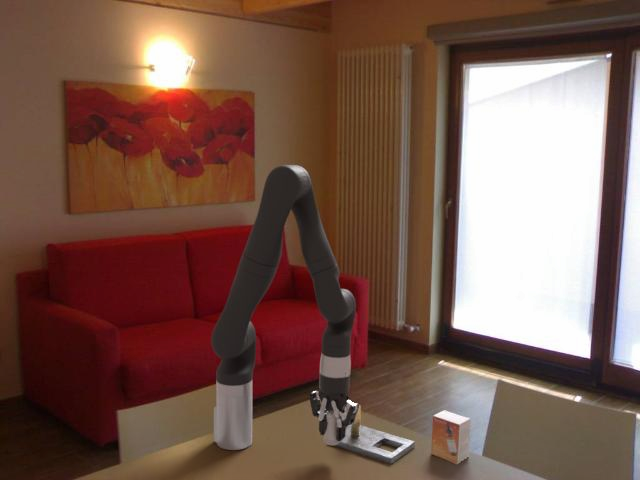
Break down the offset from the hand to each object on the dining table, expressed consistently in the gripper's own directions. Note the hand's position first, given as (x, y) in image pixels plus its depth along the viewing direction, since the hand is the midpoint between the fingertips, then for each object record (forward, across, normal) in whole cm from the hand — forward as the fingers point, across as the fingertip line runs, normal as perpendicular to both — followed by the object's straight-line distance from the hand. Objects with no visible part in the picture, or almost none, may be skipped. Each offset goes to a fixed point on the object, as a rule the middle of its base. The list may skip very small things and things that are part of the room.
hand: (331, 436), depth 171 cm
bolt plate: (+6, +4, +13) cm, 15 cm away
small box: (+6, +23, +20) cm, 31 cm away
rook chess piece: (+2, 0, 0) cm, 2 cm away
